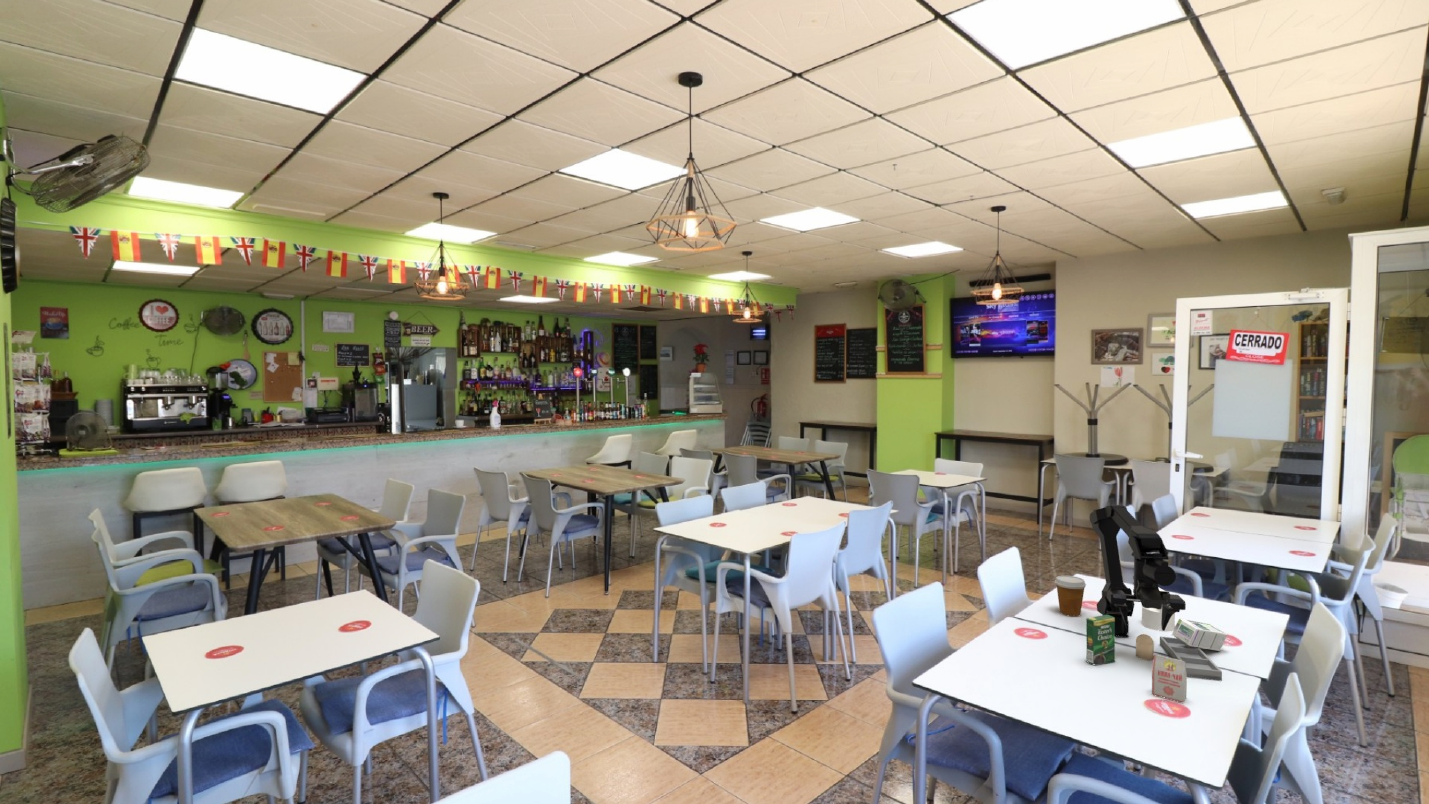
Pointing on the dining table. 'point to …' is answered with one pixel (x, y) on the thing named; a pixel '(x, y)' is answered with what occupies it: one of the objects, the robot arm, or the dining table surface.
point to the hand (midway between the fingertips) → (1144, 628)
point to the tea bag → (1169, 678)
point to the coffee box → (1100, 639)
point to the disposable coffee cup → (1070, 594)
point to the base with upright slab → (1156, 619)
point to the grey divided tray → (1191, 659)
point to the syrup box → (1199, 634)
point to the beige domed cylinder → (1144, 647)
